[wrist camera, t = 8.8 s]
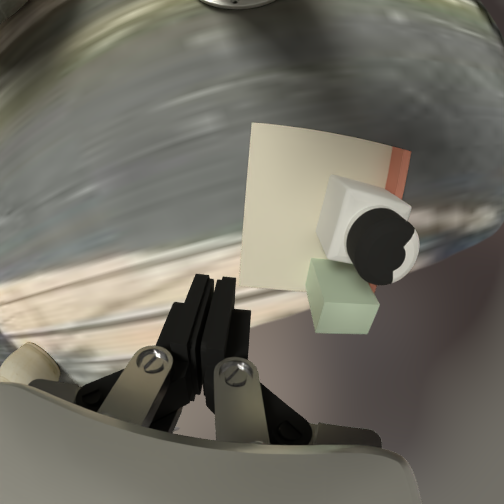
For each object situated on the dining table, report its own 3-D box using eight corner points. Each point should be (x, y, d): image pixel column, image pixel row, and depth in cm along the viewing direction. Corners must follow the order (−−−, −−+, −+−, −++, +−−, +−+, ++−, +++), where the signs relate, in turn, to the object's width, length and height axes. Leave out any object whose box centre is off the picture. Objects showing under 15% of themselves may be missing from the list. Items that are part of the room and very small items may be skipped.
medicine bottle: (314, 231, 31) (338, 289, 21) (329, 173, 28) (367, 204, 18) (367, 242, 32) (408, 299, 21) (385, 188, 29) (440, 225, 18)
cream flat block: (252, 122, 26) (250, 122, 24) (400, 148, 26) (413, 152, 24) (238, 285, 35) (236, 298, 33) (364, 294, 35) (370, 307, 33)
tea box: (311, 257, 33) (324, 302, 25) (357, 262, 33) (381, 304, 25) (305, 285, 35) (315, 332, 27) (349, 288, 35) (368, 334, 27)
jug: (12, 331, 46) (-35, 397, 24) (49, 344, 46) (-2, 425, 23) (36, 371, 53) (0, 434, 30) (74, 385, 52) (38, 460, 30)
